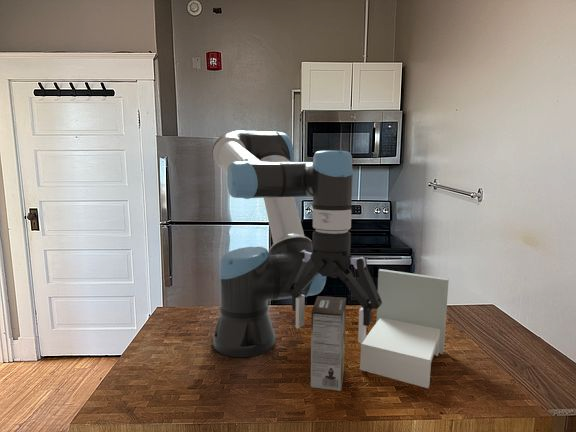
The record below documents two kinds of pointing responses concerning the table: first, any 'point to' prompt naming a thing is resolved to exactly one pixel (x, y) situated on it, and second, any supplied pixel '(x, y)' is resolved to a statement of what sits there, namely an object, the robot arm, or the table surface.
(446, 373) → the table surface
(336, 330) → the coffee box
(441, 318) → the white toy chair
